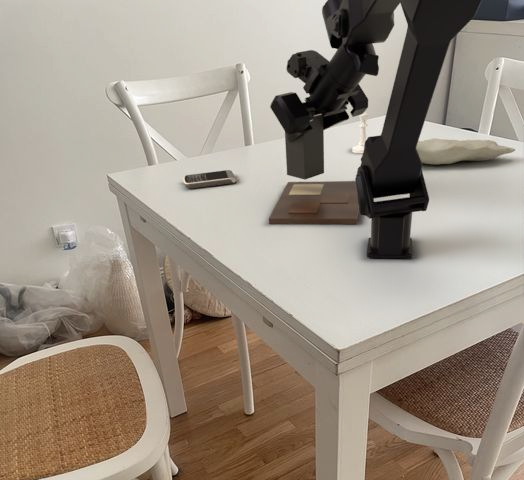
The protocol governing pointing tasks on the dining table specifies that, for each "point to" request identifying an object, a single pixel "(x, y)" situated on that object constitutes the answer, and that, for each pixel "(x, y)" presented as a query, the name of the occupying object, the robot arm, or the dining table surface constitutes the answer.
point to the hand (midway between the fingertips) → (299, 136)
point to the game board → (317, 203)
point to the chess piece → (362, 140)
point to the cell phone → (209, 179)
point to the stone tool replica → (458, 150)
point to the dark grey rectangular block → (306, 152)
